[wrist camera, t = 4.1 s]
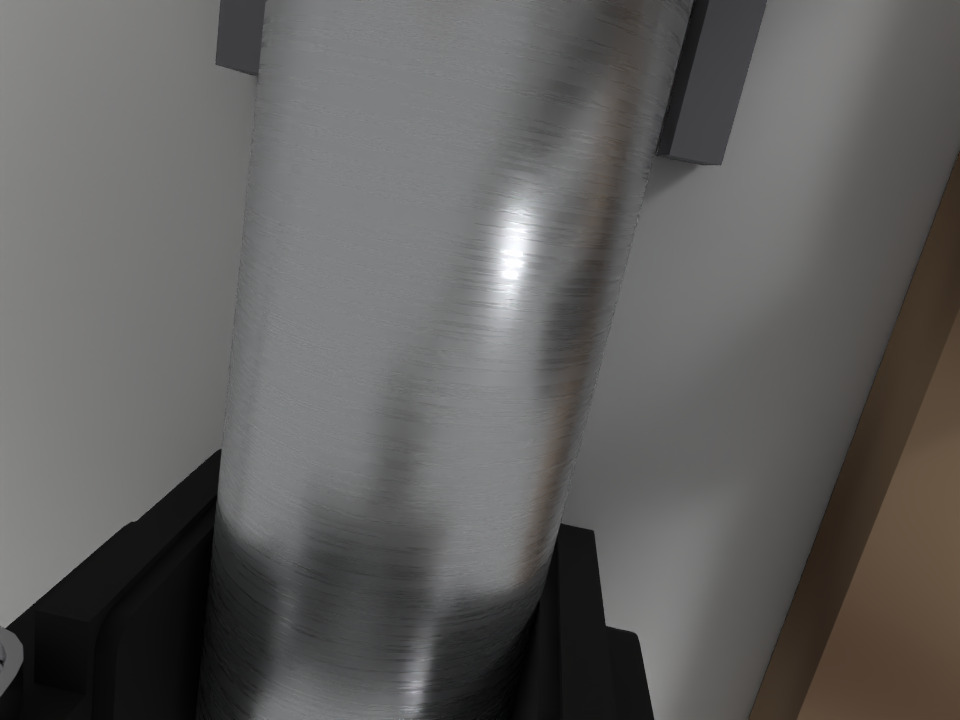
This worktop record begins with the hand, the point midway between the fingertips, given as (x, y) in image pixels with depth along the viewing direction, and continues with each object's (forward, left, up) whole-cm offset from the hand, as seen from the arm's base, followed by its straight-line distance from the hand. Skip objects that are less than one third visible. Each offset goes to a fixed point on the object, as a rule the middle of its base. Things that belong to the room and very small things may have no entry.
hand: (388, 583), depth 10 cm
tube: (0, 0, -1) cm, 1 cm away
